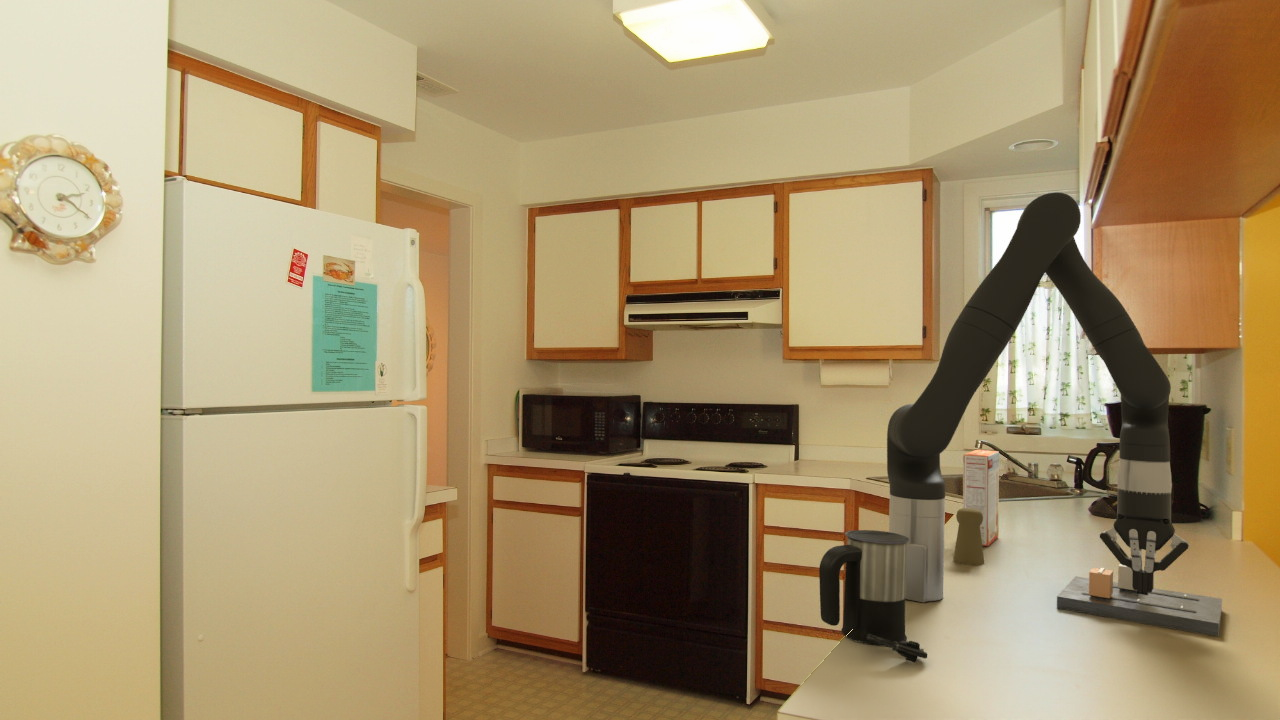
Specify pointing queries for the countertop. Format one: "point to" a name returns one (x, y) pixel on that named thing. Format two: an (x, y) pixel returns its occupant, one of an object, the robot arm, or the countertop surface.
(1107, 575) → the fader orange
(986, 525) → the cracker box
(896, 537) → the milk frother
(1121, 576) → the fader grey
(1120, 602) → the console
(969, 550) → the cork
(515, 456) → the countertop surface
